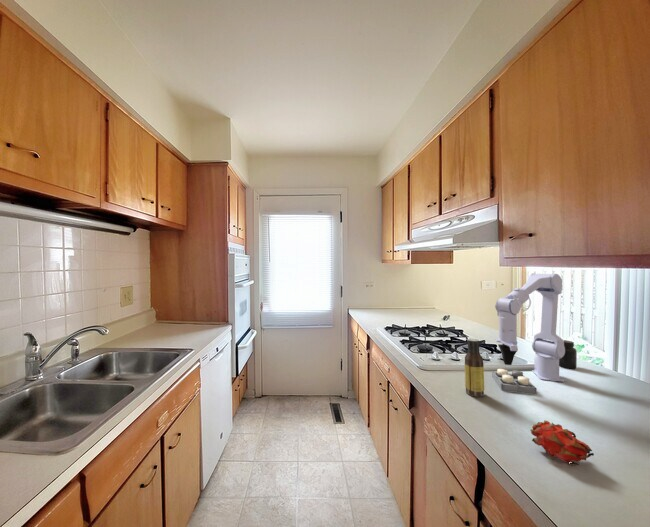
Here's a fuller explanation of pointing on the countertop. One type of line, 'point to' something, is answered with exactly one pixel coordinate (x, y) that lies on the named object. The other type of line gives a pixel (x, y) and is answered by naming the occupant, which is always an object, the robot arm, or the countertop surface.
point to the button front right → (507, 379)
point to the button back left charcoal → (516, 373)
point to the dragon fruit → (560, 442)
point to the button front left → (523, 380)
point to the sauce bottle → (474, 369)
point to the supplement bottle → (569, 356)
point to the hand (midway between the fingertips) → (507, 364)
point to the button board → (514, 385)
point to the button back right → (502, 372)
